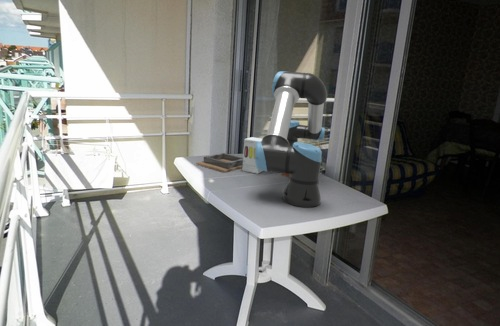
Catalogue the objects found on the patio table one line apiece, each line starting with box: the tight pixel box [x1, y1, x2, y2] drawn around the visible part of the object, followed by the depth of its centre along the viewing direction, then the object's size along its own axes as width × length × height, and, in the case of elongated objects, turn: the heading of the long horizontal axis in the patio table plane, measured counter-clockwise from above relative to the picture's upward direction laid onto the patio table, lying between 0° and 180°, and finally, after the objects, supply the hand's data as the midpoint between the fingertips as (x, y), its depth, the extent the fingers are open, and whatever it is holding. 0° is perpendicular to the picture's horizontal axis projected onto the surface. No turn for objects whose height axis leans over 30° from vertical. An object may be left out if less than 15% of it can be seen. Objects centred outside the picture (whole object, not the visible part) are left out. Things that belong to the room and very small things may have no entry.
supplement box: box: [241, 136, 263, 175], centre depth 179 cm, size 10×9×17 cm
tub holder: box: [195, 152, 243, 174], centre depth 188 cm, size 24×20×4 cm
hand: (251, 153), depth 177 cm, fingers closed on supplement box, 11 cm apart
